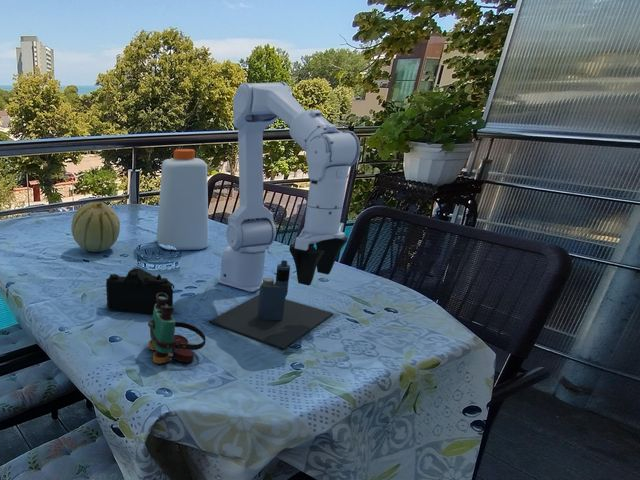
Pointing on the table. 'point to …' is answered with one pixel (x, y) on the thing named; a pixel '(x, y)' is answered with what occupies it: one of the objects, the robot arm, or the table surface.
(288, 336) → the mat
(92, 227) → the cantaloupe
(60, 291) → the table surface
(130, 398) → the table surface
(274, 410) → the table surface
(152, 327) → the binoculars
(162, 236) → the plastic bottle
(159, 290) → the film camera
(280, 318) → the vaping device
